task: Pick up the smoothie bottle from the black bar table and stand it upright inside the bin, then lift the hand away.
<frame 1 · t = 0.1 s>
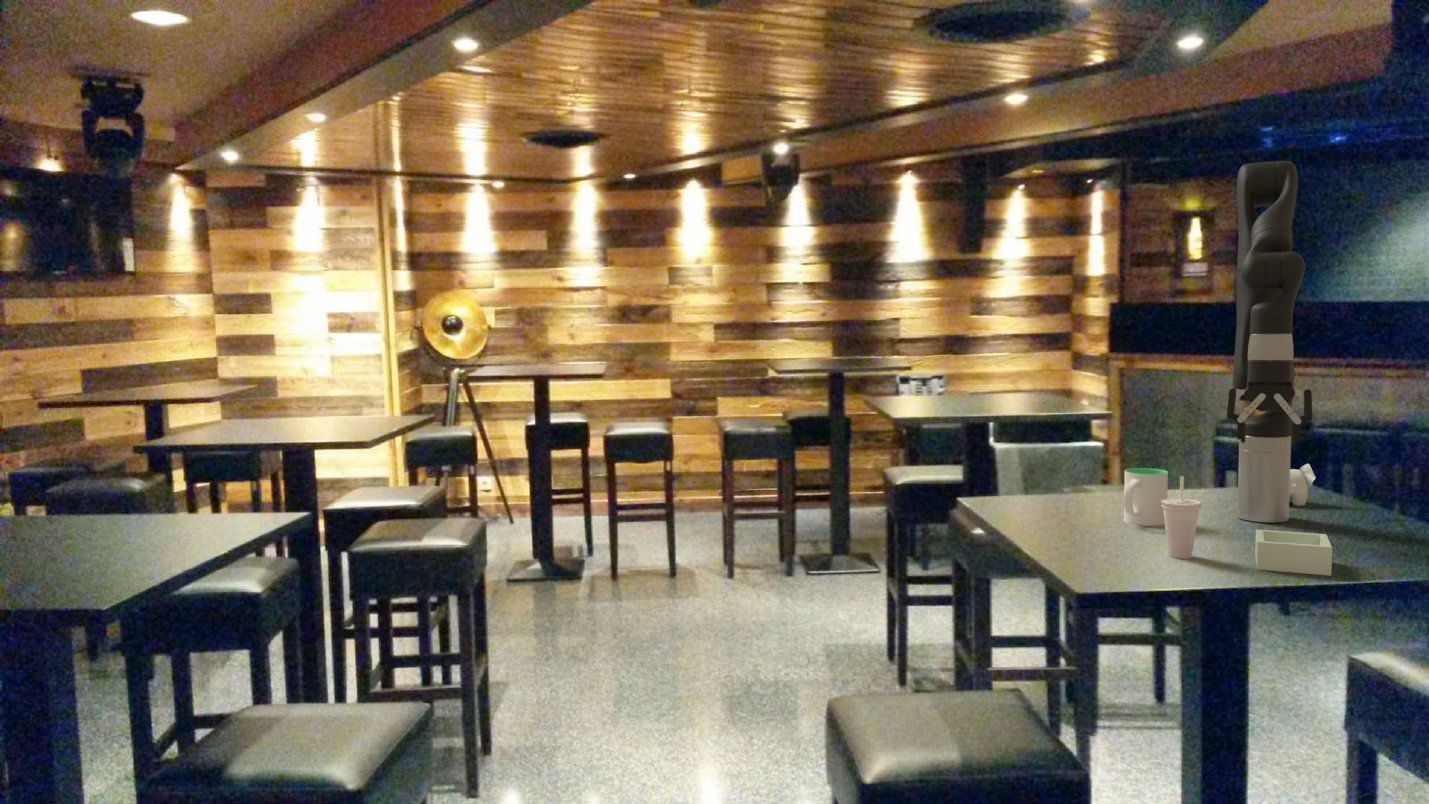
hand: (1268, 443, 193), 17 cm above the table, tool pointing down, fingers open, 8 cm apart
bin: (1291, 565, 169), on the table
elephant figurine: (1284, 503, 222), on the table
smoothie: (1179, 557, 177), on the table
mug: (1141, 524, 204), on the table
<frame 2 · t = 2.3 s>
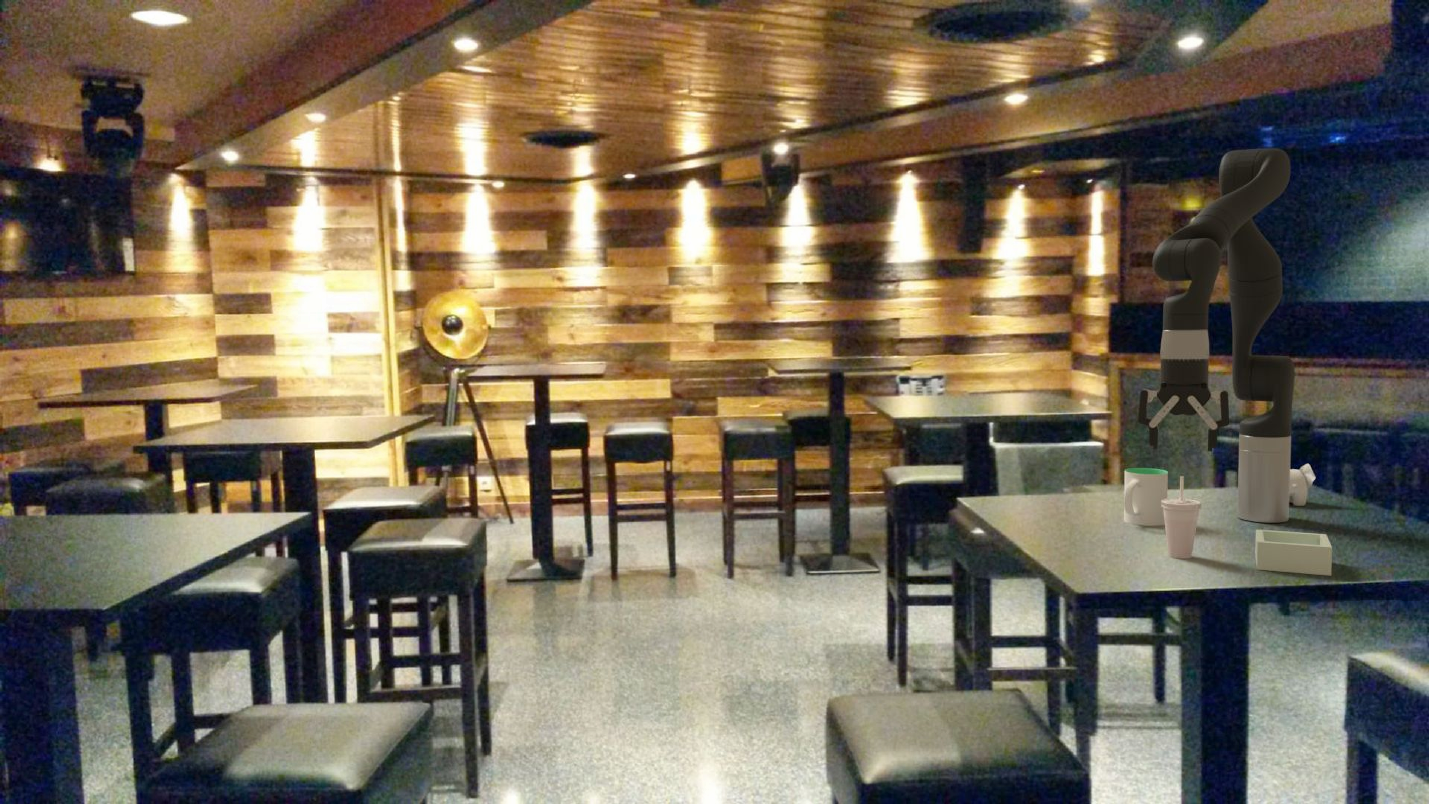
hand: (1182, 449, 175), 19 cm above the table, tool pointing down, fingers open, 8 cm apart
nothing on the table moved.
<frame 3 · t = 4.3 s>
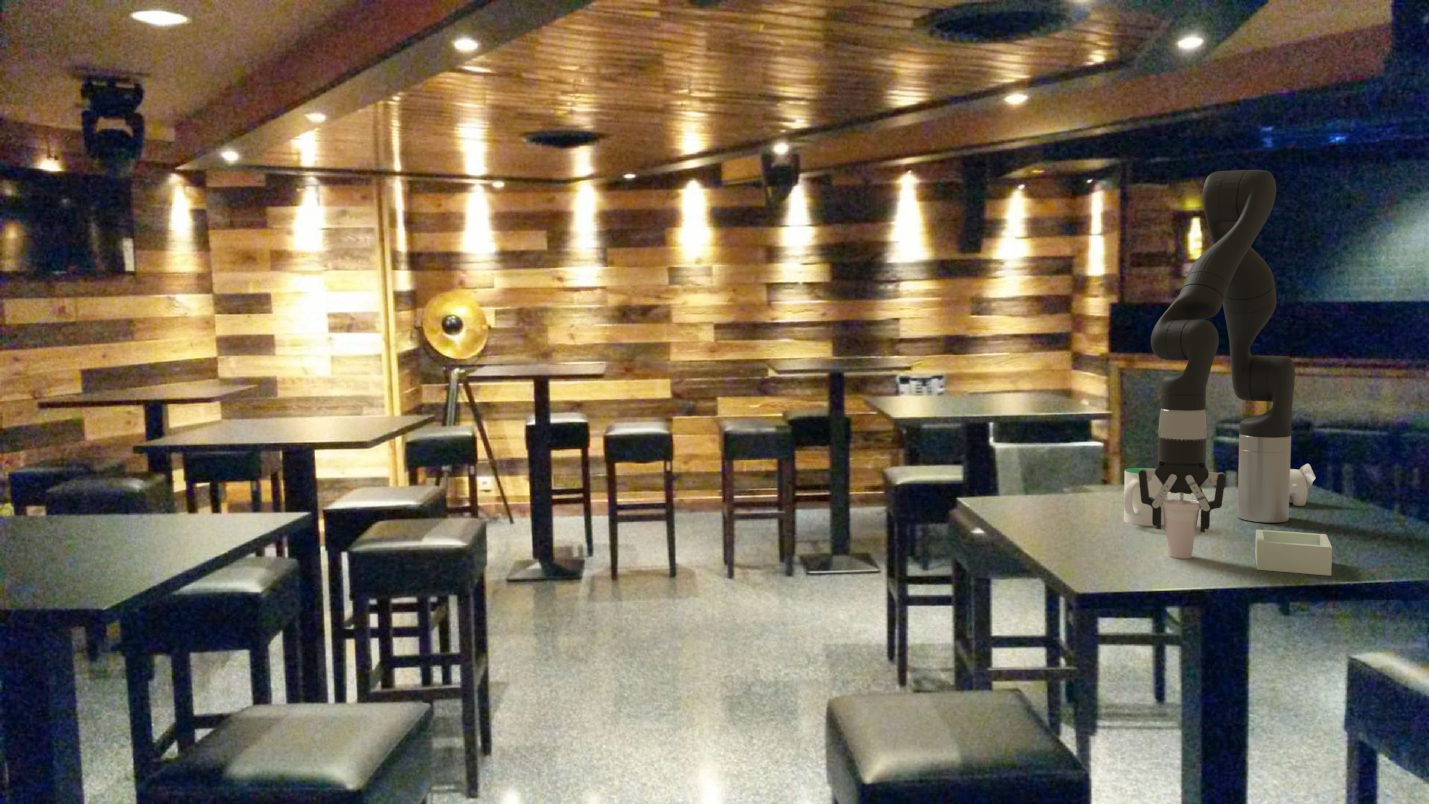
hand: (1180, 529, 176), 5 cm above the table, tool pointing down, fingers closed on smoothie, 6 cm apart
smoothie: (1179, 557, 177), on the table, touching gripper
everything else where it was.
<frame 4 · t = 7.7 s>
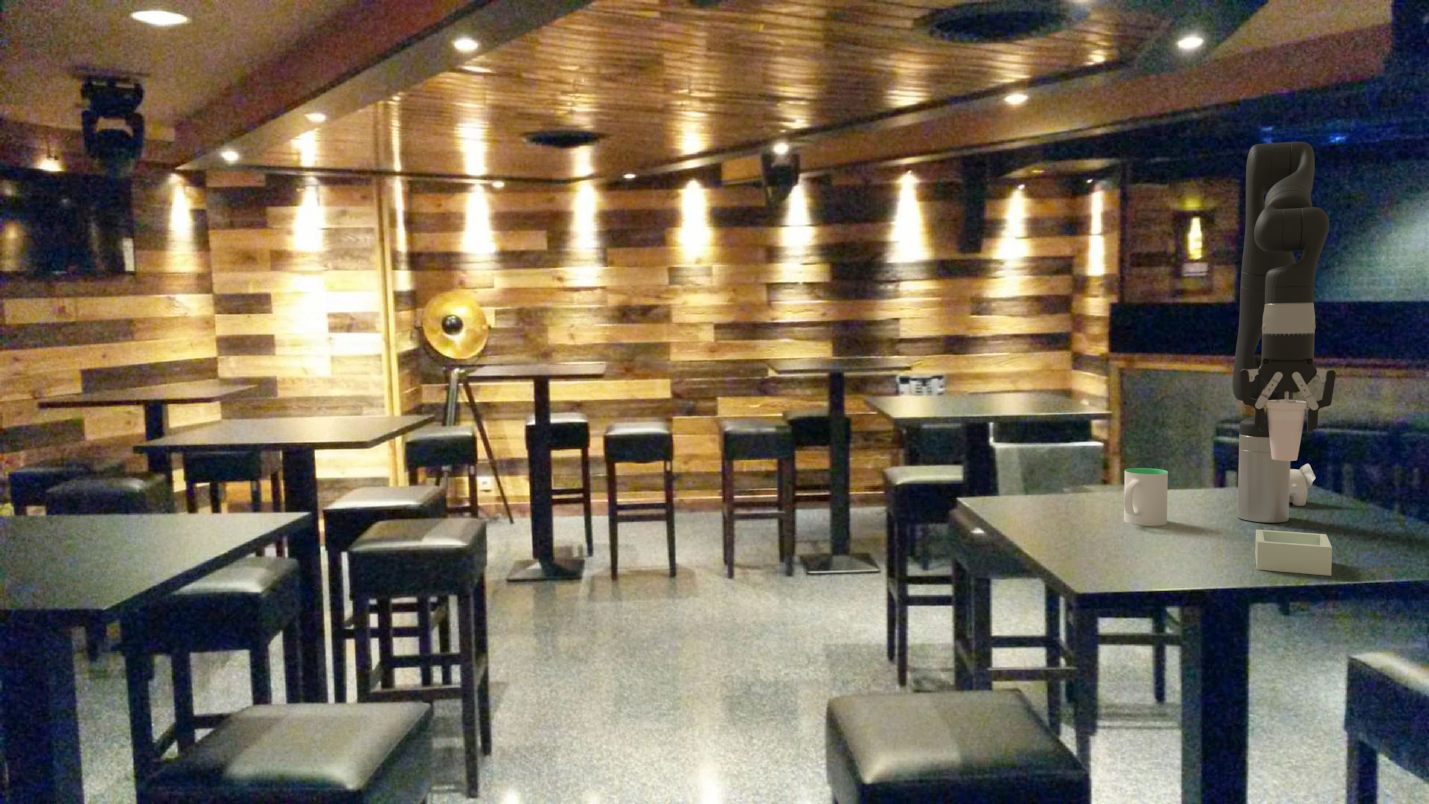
hand: (1285, 431, 168), 23 cm above the table, tool pointing down, fingers closed on smoothie, 6 cm apart
smoothie: (1284, 460, 168), point 18 cm above the table, touching gripper
everything else where it was.
when the fingers open (7 cm above the table, at t = 11.1 s): smoothie drops 1 cm, resting on bin.
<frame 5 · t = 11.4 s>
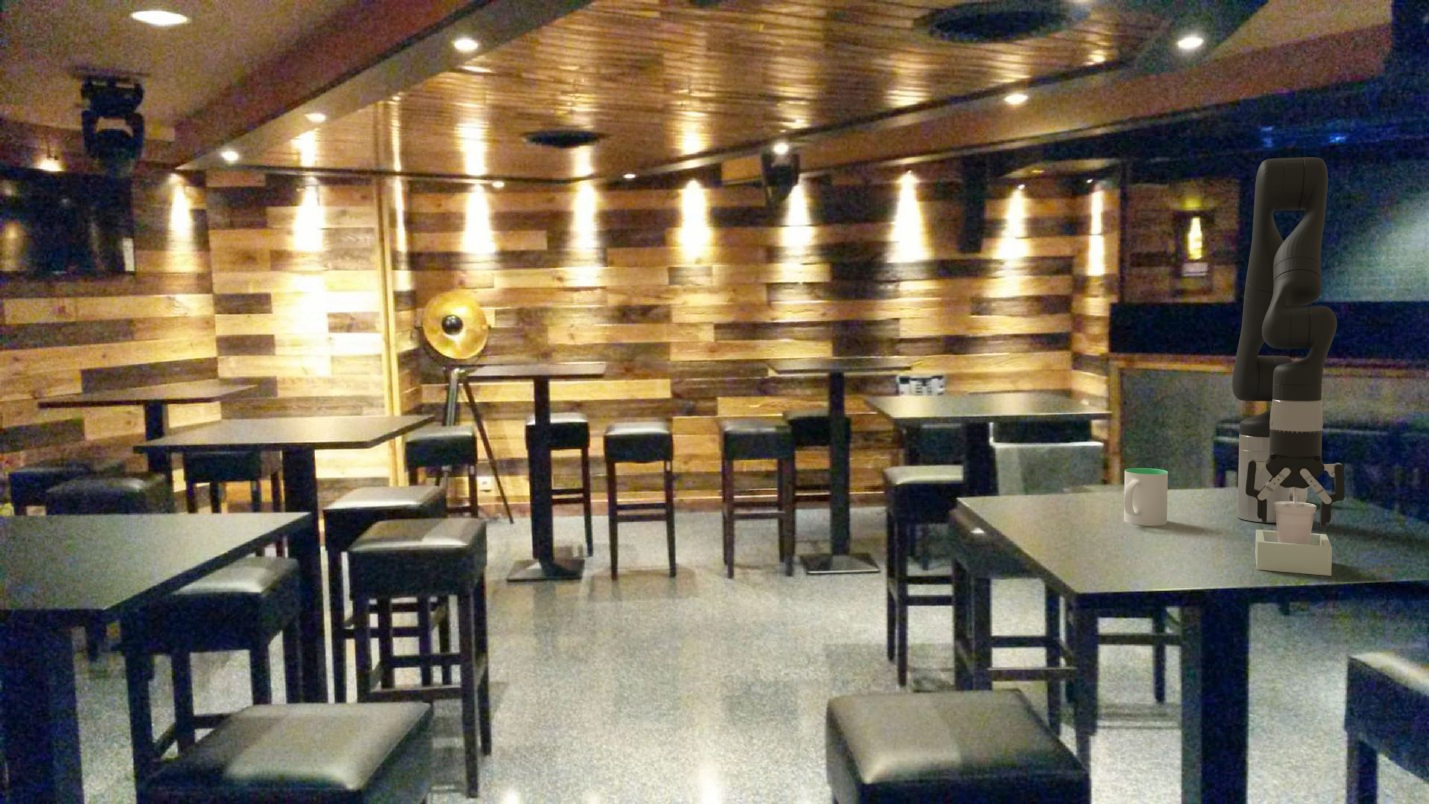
hand: (1292, 523, 168), 7 cm above the table, tool pointing down, fingers open, 8 cm apart
smoothie: (1293, 562, 169), resting on bin
everything else where it was.
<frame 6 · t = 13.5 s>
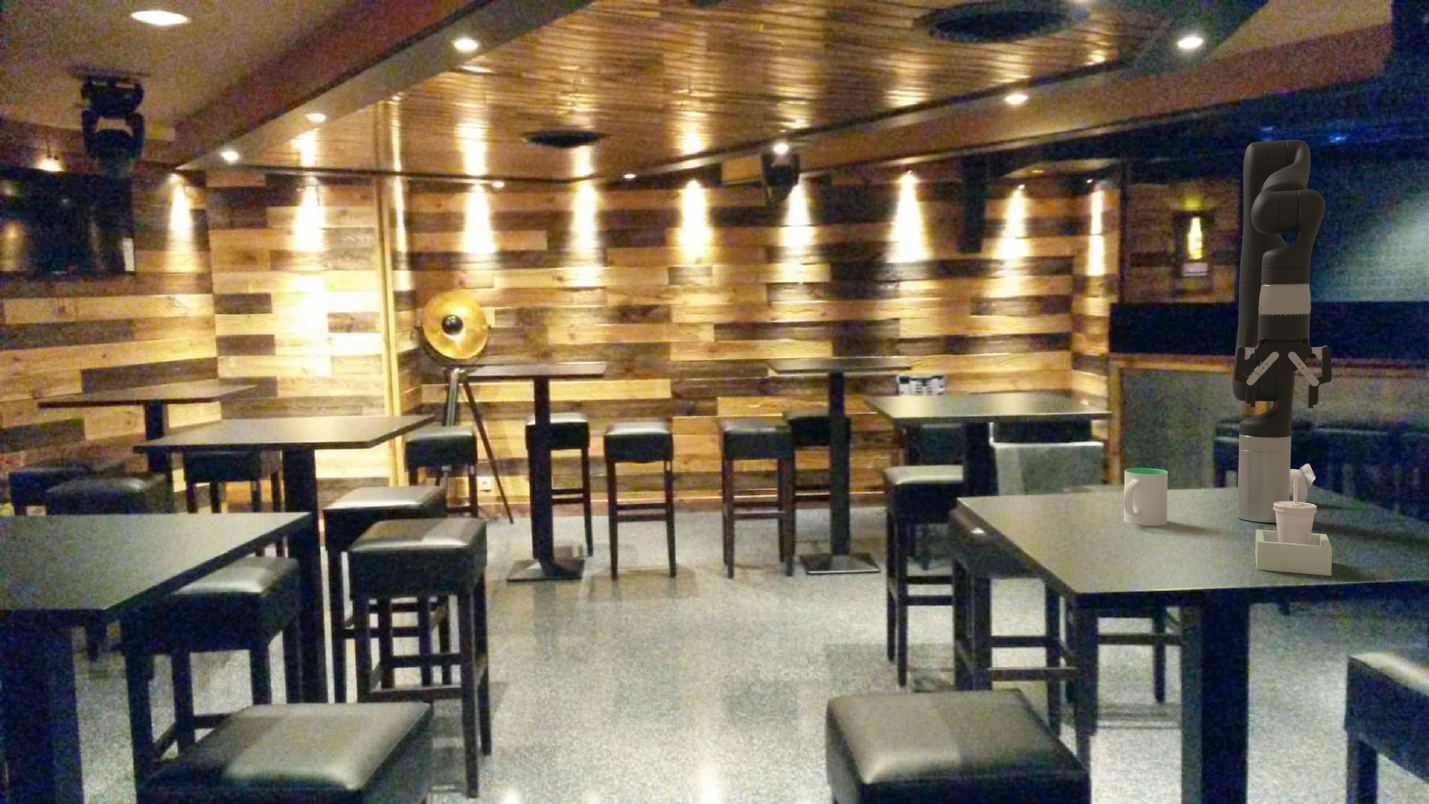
hand: (1280, 407, 171), 26 cm above the table, tool pointing down, fingers open, 8 cm apart
nothing on the table moved.
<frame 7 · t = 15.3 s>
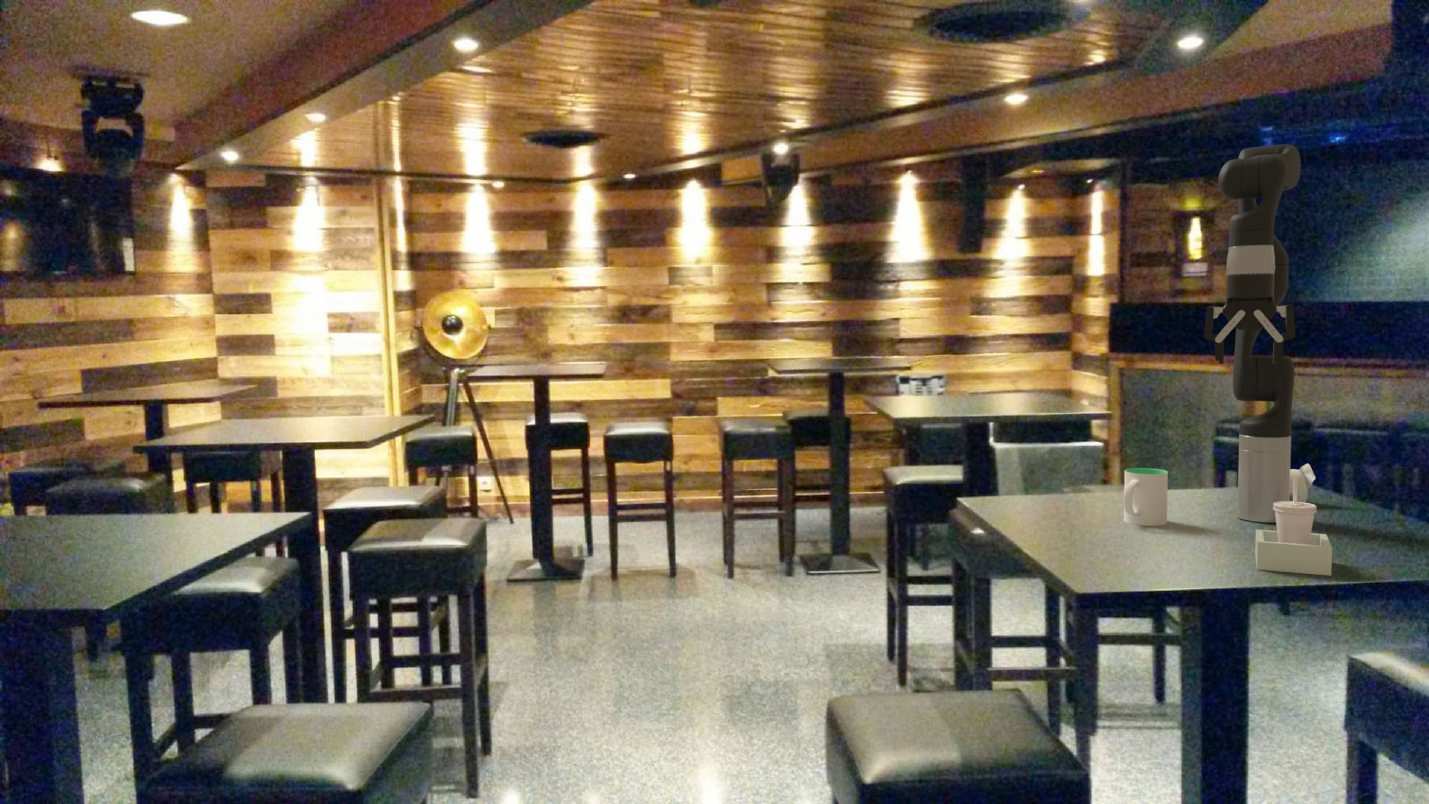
hand: (1247, 363, 180), 33 cm above the table, tool pointing down, fingers open, 8 cm apart
nothing on the table moved.
at the end: smoothie 0.2 cm off-centre on the bin, point 0.4 cm above the bin's base; smoothie tilted 0°; the gripper is holding nothing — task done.
